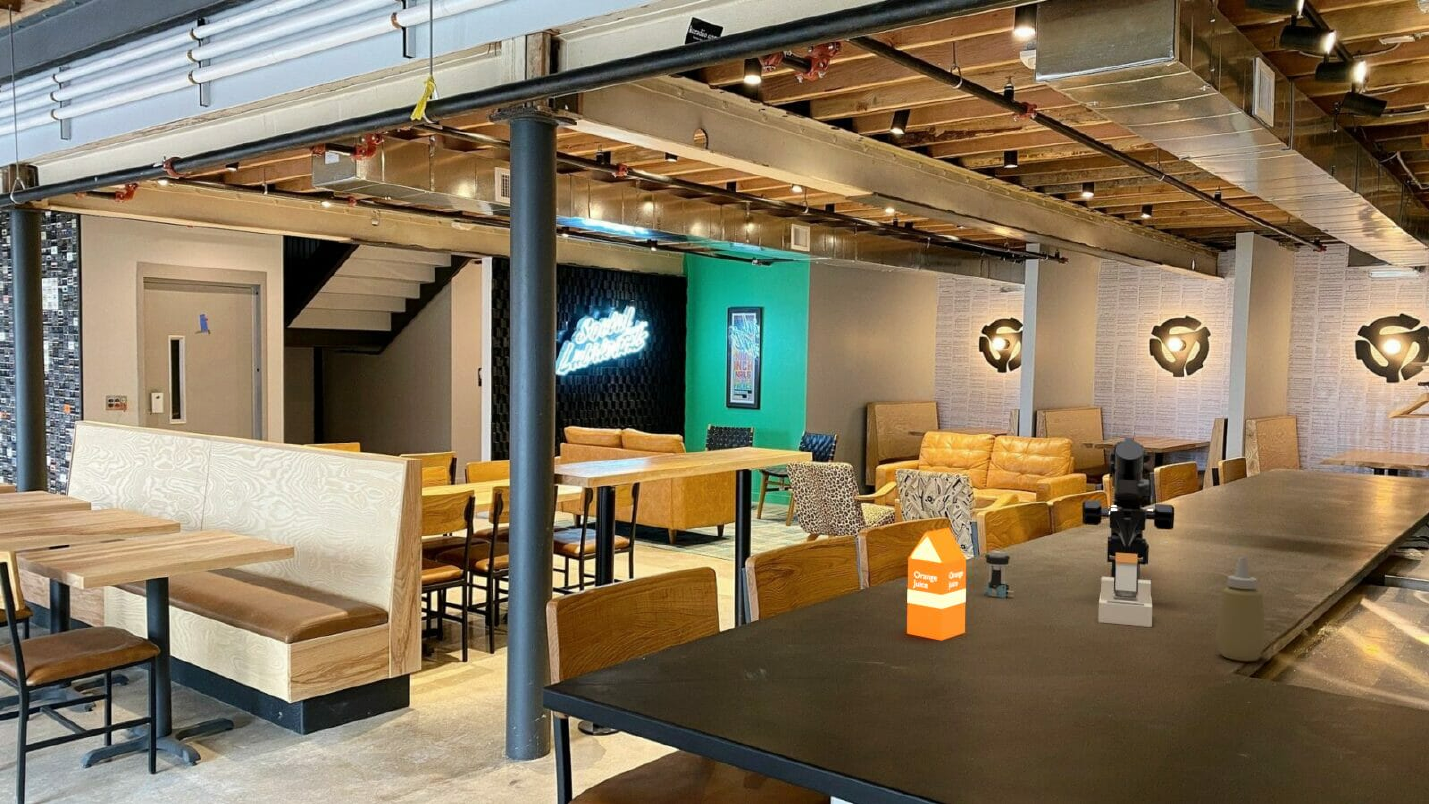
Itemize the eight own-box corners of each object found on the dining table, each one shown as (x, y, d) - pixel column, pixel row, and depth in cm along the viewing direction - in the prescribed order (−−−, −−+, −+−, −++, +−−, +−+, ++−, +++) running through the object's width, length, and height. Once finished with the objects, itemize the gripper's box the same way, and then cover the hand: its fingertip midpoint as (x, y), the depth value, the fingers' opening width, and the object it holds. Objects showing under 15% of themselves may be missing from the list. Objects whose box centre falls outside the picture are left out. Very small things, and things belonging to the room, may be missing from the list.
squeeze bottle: (1261, 654, 190) (1264, 555, 190) (1269, 666, 182) (1272, 562, 182) (1212, 650, 193) (1215, 552, 192) (1218, 661, 185) (1220, 559, 185)
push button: (1018, 596, 238) (1019, 552, 237) (1008, 600, 233) (1009, 555, 233) (991, 592, 242) (991, 549, 242) (980, 596, 238) (981, 551, 238)
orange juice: (965, 632, 204) (967, 529, 203) (941, 640, 197) (943, 534, 197) (930, 625, 209) (932, 525, 208) (905, 633, 203) (907, 529, 202)
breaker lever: (1114, 598, 218) (1115, 557, 222) (1136, 600, 217) (1137, 558, 221) (1114, 593, 216) (1115, 552, 220) (1136, 595, 214) (1137, 554, 218)
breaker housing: (1100, 611, 224) (1100, 573, 224) (1151, 615, 220) (1151, 577, 220) (1098, 622, 214) (1099, 582, 213) (1151, 627, 210) (1152, 587, 210)
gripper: (1083, 464, 234) (1080, 519, 224) (1175, 467, 227) (1175, 525, 217) (1084, 495, 242) (1081, 551, 232) (1172, 500, 235) (1173, 557, 225)
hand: (1126, 545), depth 226 cm, fingers closed
